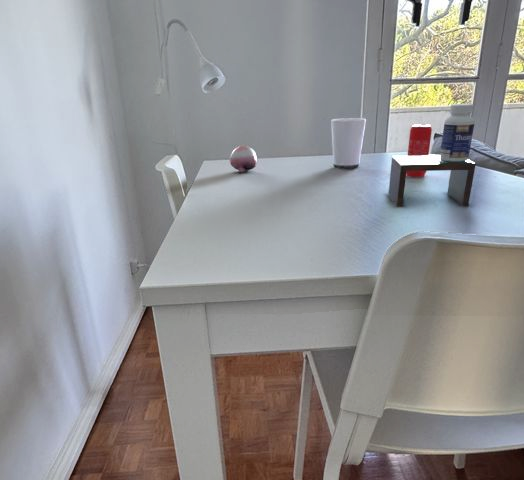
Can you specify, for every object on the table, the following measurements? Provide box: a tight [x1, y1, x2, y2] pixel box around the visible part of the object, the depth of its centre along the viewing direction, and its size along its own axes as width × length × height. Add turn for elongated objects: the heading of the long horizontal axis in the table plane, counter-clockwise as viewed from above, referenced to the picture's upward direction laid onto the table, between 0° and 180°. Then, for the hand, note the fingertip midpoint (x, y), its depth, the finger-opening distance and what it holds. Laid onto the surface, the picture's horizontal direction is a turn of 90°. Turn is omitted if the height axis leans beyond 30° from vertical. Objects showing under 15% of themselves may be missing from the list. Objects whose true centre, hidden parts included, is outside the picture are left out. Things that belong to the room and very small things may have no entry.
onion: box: [229, 144, 258, 173], centre depth 137 cm, size 8×8×7 cm
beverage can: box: [406, 124, 433, 178], centre depth 120 cm, size 5×5×12 cm
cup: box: [330, 117, 367, 170], centre depth 137 cm, size 10×10×13 cm
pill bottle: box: [439, 103, 476, 162], centre depth 90 cm, size 5×5×10 cm
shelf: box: [388, 154, 477, 208], centre depth 98 cm, size 14×12×8 cm
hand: (439, 26), depth 92 cm, fingers open, 8 cm apart
